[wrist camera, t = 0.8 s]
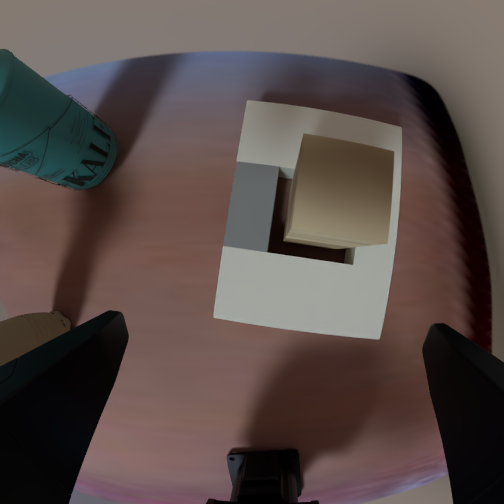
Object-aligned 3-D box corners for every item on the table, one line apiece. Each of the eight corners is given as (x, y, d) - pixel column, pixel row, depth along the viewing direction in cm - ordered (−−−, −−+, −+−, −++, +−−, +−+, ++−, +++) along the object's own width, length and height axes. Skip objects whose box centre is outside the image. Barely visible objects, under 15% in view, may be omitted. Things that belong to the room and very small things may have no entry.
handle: (62, 286, 25) (-66, 304, 10) (92, 347, 25) (-27, 404, 10) (35, 308, 26) (-81, 331, 11) (63, 364, 25) (-46, 417, 10)
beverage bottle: (67, 146, 26) (-89, 66, 6) (122, 117, 25) (-24, -11, 5) (75, 206, 25) (-114, 159, 5) (134, 179, 25) (-59, 76, 5)
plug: (333, 249, 24) (387, 243, 12) (282, 241, 24) (291, 228, 12) (339, 199, 24) (394, 151, 12) (289, 191, 24) (303, 133, 12)
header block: (368, 330, 23) (379, 339, 20) (220, 310, 24) (213, 317, 21) (389, 140, 24) (401, 127, 20) (250, 116, 24) (247, 100, 21)
